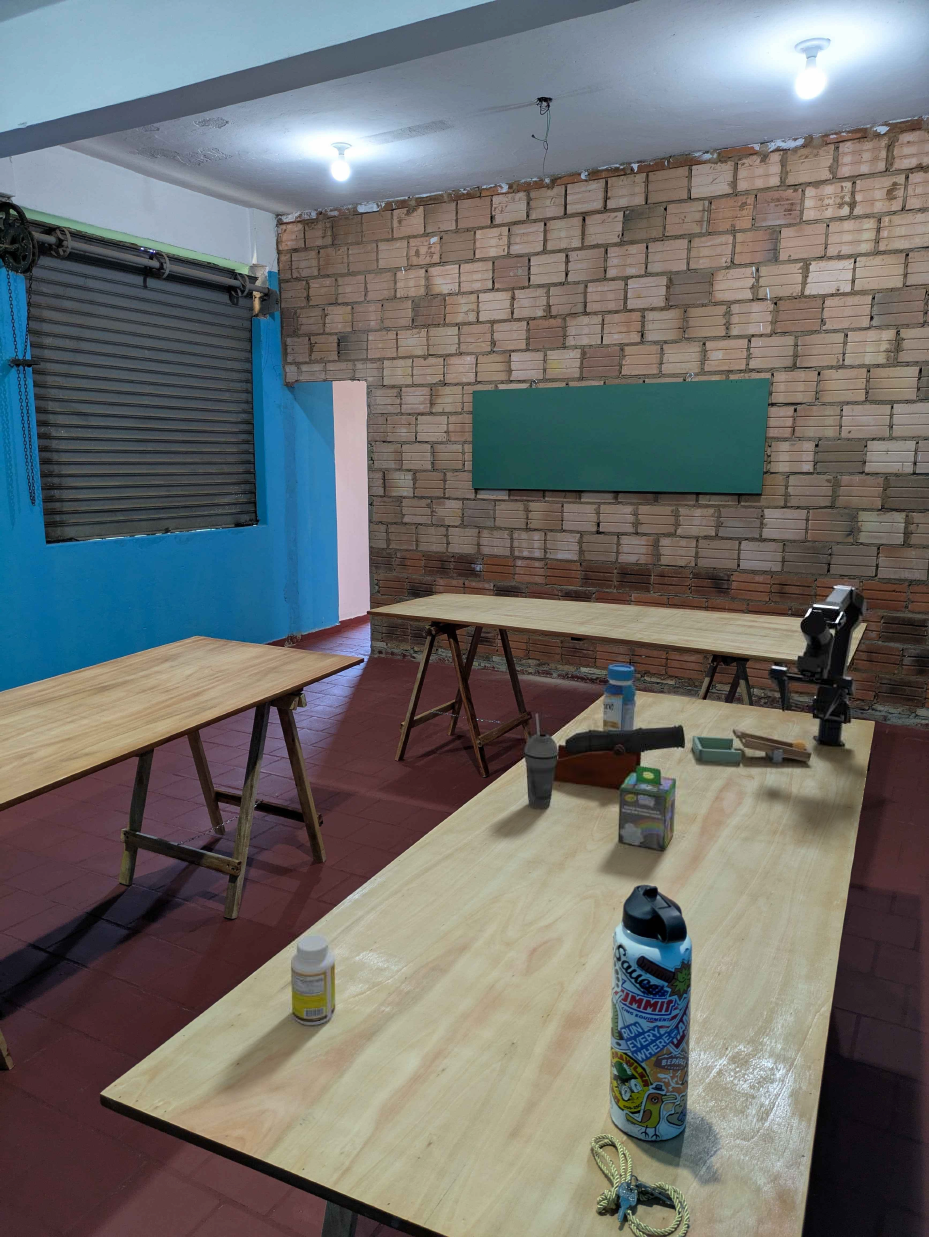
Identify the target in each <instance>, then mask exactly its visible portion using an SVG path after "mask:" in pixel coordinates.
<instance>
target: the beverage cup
mask: <svg viewBox="0 0 929 1237" xmlns="http://www.w3.org/2000/svg"><path fill="white" fill-rule="evenodd" d="M535 722H536V733H537V734H534V735H532V736H531V737H530V738H528V740H527V742H526V744H525V746H524V750H523V755H524V761H525V764H526V766H525V767H526V783H527V784H526V786H527V798H528V799H527V801H528V807H530V808H532V809H534V810H536V809H537V810H545V809H548V808H550V807H551V801H552V794H553V787H554V781H553V780H554V772H555V765H556V762H557V759H558V745H557V743H556V741H555V739H554V738H552V737H551V736H550V735H549V734H545V733H540V732H541V731H540V720H539V713H535Z"/></svg>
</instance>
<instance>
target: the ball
mask: <svg viewBox="0 0 929 1237" xmlns="http://www.w3.org/2000/svg"><path fill="white" fill-rule="evenodd" d="M792 743H793V748H794V749H799V750H803V751H804V750H805V748H806V747H807V744H806V743H805V742H804V741H803V740H795V741H794V742H792Z"/></svg>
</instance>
